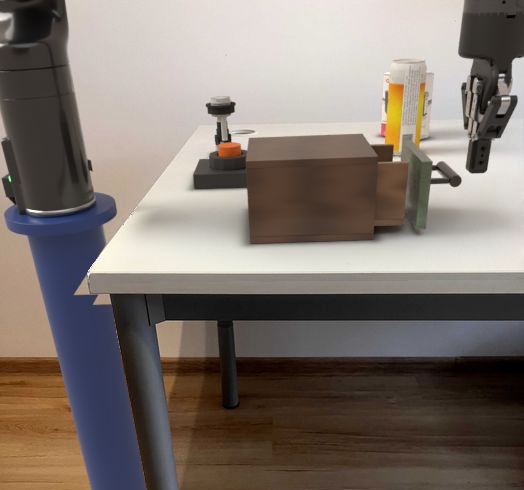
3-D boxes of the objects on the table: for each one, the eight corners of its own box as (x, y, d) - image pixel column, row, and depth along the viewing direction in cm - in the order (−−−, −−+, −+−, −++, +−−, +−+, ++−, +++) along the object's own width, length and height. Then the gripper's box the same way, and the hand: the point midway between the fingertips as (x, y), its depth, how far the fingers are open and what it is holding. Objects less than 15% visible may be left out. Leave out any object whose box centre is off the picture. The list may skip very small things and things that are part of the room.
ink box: (378, 136, 119) (382, 71, 113) (393, 132, 122) (398, 68, 116) (414, 142, 114) (420, 74, 107) (429, 137, 116) (436, 71, 110)
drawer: (437, 199, 79) (444, 138, 75) (461, 227, 70) (471, 160, 66) (305, 203, 80) (305, 143, 76) (311, 232, 70) (311, 165, 66)
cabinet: (359, 207, 81) (362, 133, 76) (373, 239, 70) (378, 156, 65) (252, 210, 81) (248, 137, 76) (249, 243, 70) (245, 161, 65)
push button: (243, 158, 107) (240, 99, 102) (215, 161, 106) (210, 101, 101) (234, 151, 113) (231, 94, 107) (207, 154, 111) (202, 96, 106)
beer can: (410, 147, 110) (417, 57, 102) (424, 154, 105) (434, 60, 97) (379, 150, 109) (384, 59, 101) (392, 157, 104) (399, 63, 96)
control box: (194, 189, 91) (191, 162, 89) (200, 172, 100) (198, 147, 98) (265, 186, 91) (264, 159, 89) (265, 170, 100) (264, 145, 98)
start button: (217, 159, 92) (217, 147, 91) (219, 154, 95) (218, 142, 94) (240, 158, 92) (240, 146, 91) (241, 153, 95) (241, 141, 94)
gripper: (448, 7, 69) (431, 160, 78) (483, 10, 58) (459, 188, 66) (513, 5, 69) (489, 158, 78) (562, 7, 57) (527, 185, 66)
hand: (475, 171), depth 72 cm, fingers closed
